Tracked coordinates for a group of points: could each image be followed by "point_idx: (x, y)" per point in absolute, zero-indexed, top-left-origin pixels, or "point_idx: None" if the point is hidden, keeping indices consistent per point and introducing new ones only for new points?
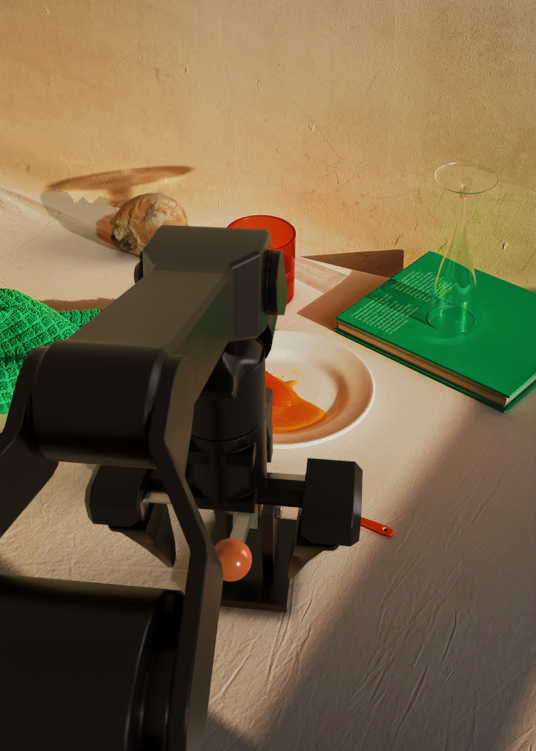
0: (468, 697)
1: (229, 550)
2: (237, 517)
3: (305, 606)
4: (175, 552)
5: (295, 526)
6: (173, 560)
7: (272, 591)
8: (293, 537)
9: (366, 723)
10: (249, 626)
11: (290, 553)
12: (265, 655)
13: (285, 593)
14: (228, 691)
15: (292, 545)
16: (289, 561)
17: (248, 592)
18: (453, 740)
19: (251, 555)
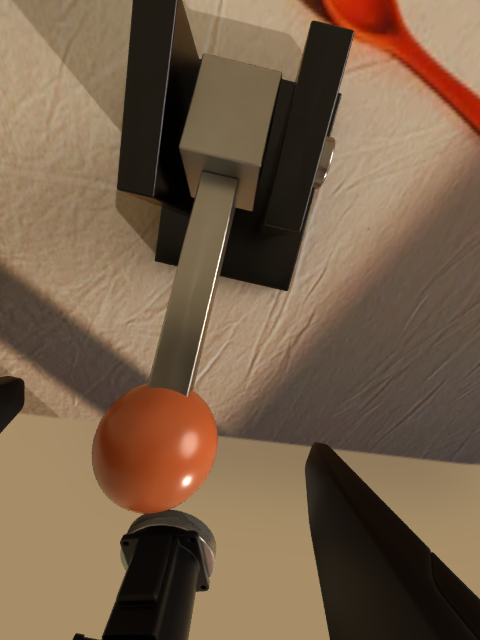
0: (473, 420)
1: (134, 505)
2: (191, 220)
3: (314, 280)
4: (4, 392)
5: (411, 632)
6: (7, 412)
7: (269, 262)
8: (373, 590)
9: (348, 432)
10: (231, 303)
11: (335, 540)
12: (249, 345)
13: (289, 268)
14: (202, 383)
15: (359, 618)
16: (325, 564)
17: (232, 261)
18: (431, 457)
19: (216, 442)
